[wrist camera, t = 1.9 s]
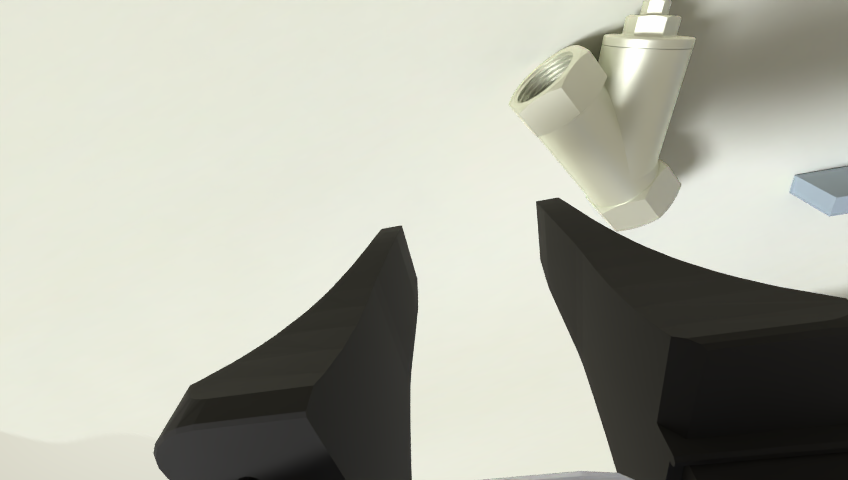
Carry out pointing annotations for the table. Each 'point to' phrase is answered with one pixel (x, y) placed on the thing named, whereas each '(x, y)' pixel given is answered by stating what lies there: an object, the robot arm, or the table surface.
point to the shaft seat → (824, 190)
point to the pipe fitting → (613, 114)
